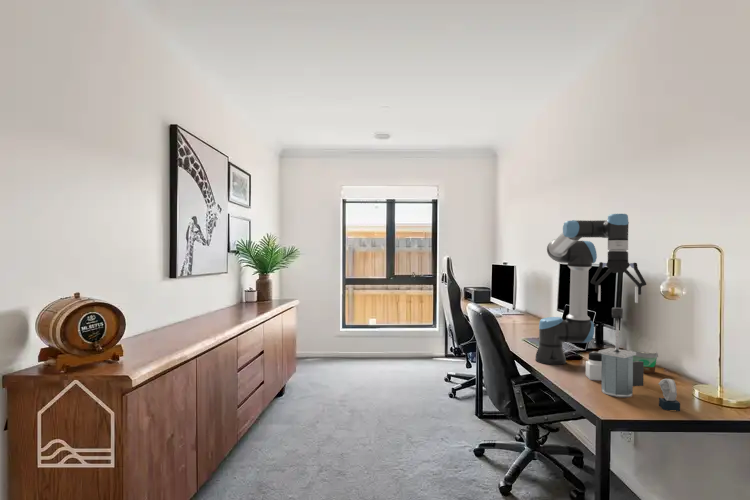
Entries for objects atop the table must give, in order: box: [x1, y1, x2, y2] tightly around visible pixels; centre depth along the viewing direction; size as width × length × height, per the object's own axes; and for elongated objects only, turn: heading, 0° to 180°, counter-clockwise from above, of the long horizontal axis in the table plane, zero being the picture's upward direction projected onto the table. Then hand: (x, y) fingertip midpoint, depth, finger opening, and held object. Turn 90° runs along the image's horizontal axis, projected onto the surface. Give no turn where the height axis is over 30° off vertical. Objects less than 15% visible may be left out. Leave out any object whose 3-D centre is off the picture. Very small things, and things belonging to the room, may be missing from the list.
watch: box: [658, 378, 681, 412], centre depth 165 cm, size 6×8×11 cm
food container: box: [630, 349, 659, 375], centre depth 214 cm, size 12×6×10 cm, turn 73°
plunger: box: [611, 307, 624, 352], centre depth 182 cm, size 9×9×23 cm
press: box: [597, 347, 645, 399], centre depth 183 cm, size 16×12×17 cm
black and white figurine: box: [585, 351, 602, 382], centre depth 203 cm, size 7×7×12 cm
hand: (617, 301), depth 182 cm, fingers open, 13 cm apart
